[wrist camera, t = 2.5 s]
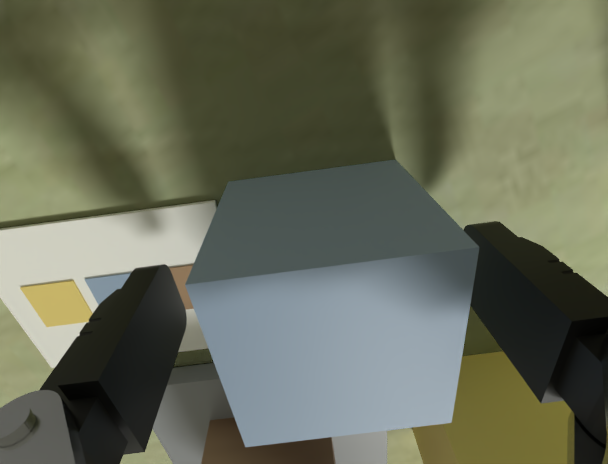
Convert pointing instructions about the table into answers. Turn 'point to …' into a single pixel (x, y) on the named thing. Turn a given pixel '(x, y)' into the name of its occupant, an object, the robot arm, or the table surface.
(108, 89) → the table surface
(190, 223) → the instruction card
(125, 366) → the robot arm
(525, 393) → the yellow cube
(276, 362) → the brick blue
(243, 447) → the brick walnut
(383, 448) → the base plate
